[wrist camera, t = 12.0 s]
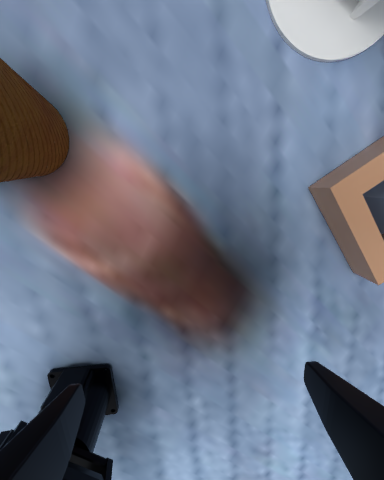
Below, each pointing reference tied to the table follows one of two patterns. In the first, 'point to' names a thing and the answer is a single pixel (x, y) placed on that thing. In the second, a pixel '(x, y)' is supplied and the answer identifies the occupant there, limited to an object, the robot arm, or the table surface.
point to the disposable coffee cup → (28, 130)
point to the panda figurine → (328, 26)
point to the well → (355, 210)
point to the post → (376, 204)
